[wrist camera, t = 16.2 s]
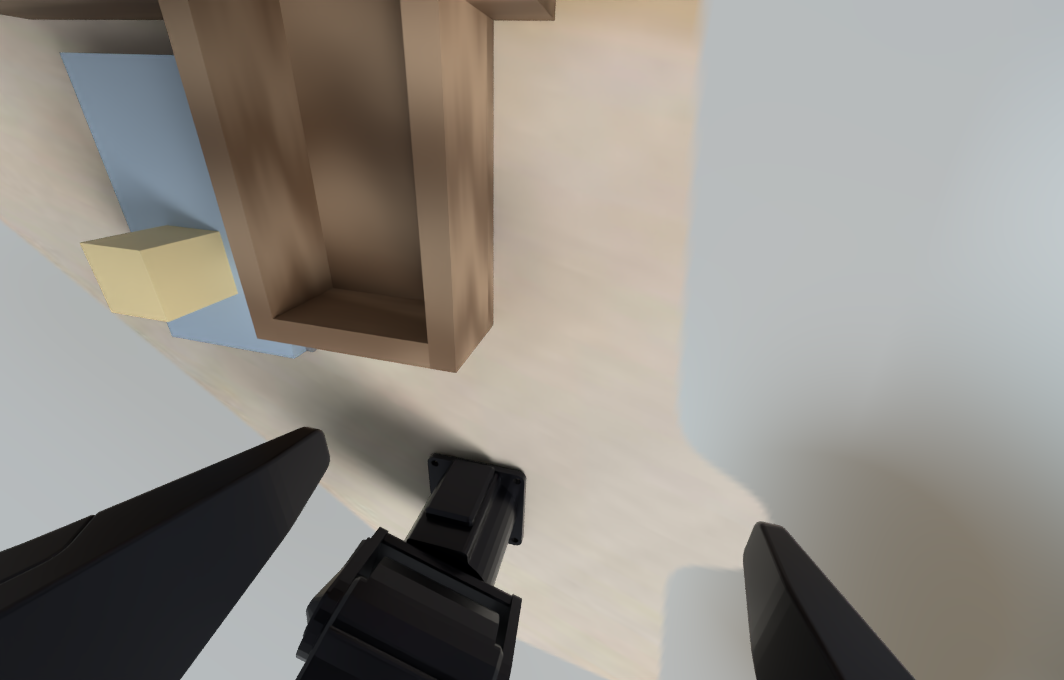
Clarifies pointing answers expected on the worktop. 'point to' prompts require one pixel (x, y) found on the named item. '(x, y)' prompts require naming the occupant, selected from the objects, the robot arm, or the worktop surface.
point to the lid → (161, 205)
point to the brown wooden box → (344, 160)
